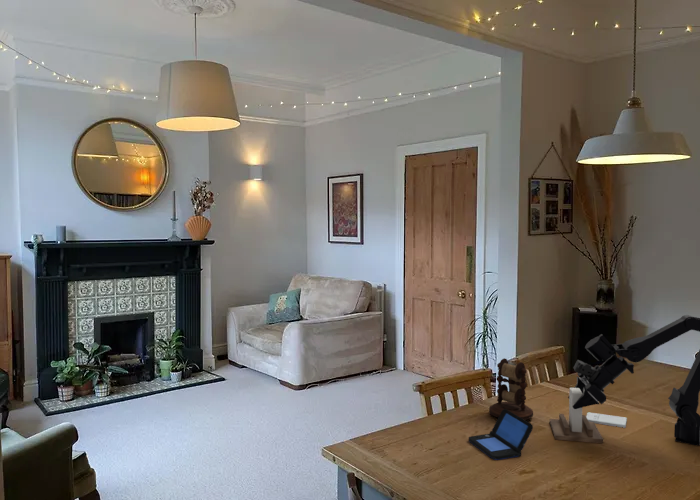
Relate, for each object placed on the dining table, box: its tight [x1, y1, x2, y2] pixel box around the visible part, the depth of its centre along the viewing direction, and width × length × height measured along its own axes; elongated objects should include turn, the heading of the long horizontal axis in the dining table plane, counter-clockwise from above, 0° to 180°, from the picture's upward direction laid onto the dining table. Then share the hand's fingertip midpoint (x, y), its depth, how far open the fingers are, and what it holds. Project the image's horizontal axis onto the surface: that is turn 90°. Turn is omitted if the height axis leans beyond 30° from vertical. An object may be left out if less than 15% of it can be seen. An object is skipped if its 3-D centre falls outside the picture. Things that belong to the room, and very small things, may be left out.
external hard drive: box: [585, 411, 628, 429], centre depth 194 cm, size 2×8×12 cm
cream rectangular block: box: [568, 387, 583, 432], centre depth 183 cm, size 3×6×12 cm, turn 167°
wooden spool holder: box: [488, 358, 534, 421], centre depth 198 cm, size 15×15×20 cm
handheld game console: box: [468, 409, 534, 461], centre depth 172 cm, size 16×13×9 cm
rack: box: [549, 413, 604, 444], centre depth 184 cm, size 14×15×4 cm
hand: (571, 403), depth 184 cm, fingers open, 9 cm apart
